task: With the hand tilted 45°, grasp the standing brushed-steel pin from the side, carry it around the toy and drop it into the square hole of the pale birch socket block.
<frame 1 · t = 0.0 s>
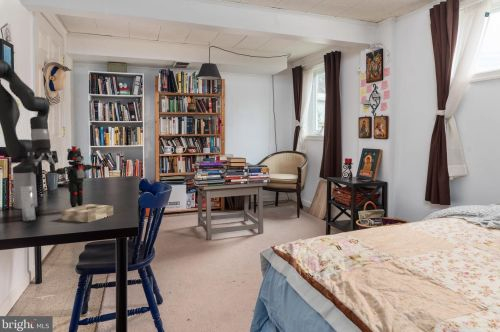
hand: (44, 173, 163), 17 cm above the table, tool pointing down, fingers open, 8 cm apart
toy: (78, 211, 157), on the table
pin: (29, 219, 142), on the table
socket: (88, 217, 145), on the table
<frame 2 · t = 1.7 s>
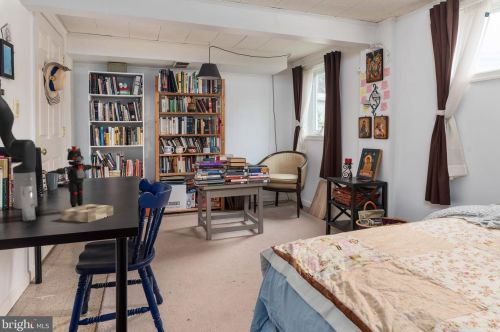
nothing on the table moved.
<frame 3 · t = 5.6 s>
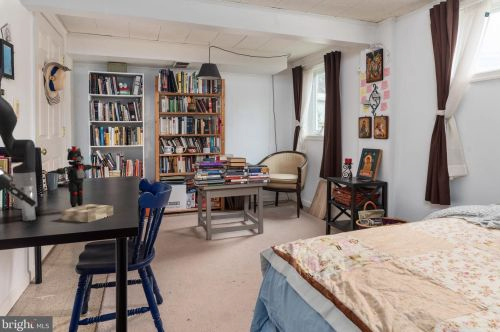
hand: (33, 203, 143), 6 cm above the table, tool tilted 45°, fingers closed on pin, 4 cm apart
pin: (29, 219, 142), on the table, touching gripper
everything else where it was.
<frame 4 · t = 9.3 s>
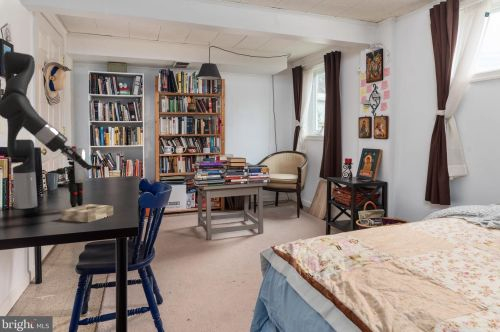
hand: (85, 166, 143), 22 cm above the table, tool tilted 45°, fingers closed on pin, 4 cm apart
pin: (81, 182, 142), point 15 cm above the table, touching gripper
everything else where it was.
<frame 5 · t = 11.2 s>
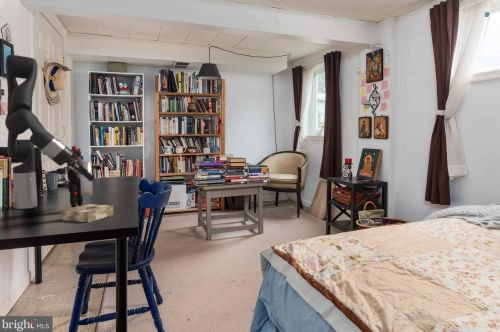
hand: (91, 179, 145), 16 cm above the table, tool tilted 45°, fingers closed on pin, 4 cm apart
pin: (87, 194, 144), point 10 cm above the table, touching gripper
everything else where it was.
when the fingers open (12 cm above the table, at t = 13.0 s): pin drops 5 cm, resting in socket.
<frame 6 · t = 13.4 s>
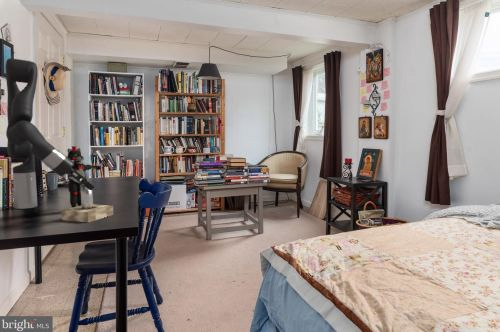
hand: (90, 187, 145), 13 cm above the table, tool tilted 45°, fingers open, 8 cm apart
pin: (87, 217, 145), resting in socket
everything else where it was.
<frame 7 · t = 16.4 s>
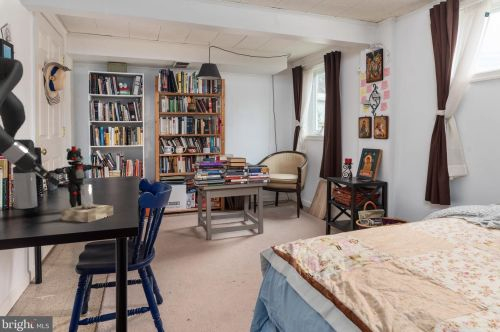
hand: (56, 183, 137), 16 cm above the table, tool tilted 45°, fingers open, 8 cm apart
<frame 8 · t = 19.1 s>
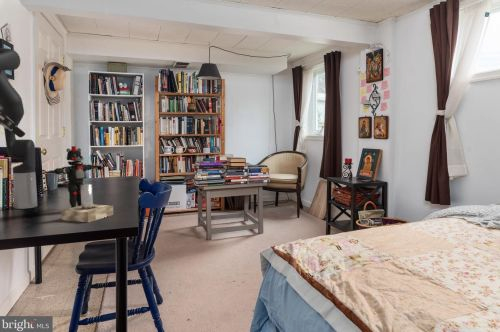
hand: (22, 135, 136), 35 cm above the table, tool tilted 45°, fingers open, 8 cm apart
nothing on the table moved.
at the end: pin 0.2 cm off-centre on the socket, point 0.0 cm above the socket's base; pin tilted 0°; the gripper is holding nothing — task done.
